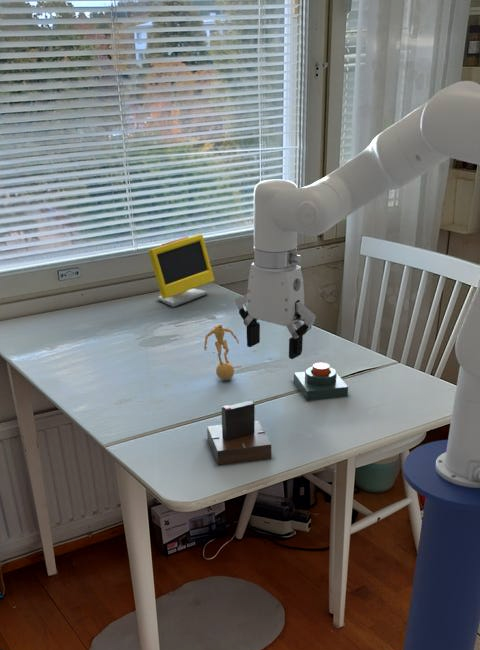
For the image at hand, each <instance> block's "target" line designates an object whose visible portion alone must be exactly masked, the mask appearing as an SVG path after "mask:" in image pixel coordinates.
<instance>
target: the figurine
mask: <svg viewBox="0 0 480 650" xmlns="http://www.w3.org/2000/svg"><path fill="white" fill-rule="evenodd" d="M225 333H230V334H231V335H232V337H233V339H235V340H236V343H237V344H238V345H240V341H239V339H238V338H237V335H236V334H235V333H234V332H233V330H231V329H230V328H226V327H224V326H223V325H222V324H216V325H214V327H213V329H211V330H210V331H209V332H208V333H207V334H205V338H204V346H203V349H204V351H205V352H206V351H207V350H208V346H207V343H208V338H209V337H210V336H212V335H213V334H214V337H215V338H216V339H215V340H216V341H215V342H214V346H215V347H216V351H217V352H218V353H217V357H218V361H219V364H218V365H217V367H216V370H215V371H216V372H215V373H216V376H217V378H218V379H220V380H222V381H229V380H231V379H232V378H233V377H234V375H235V368H234V365H233V364H232V363H231V362H230V361H229V360H228V357H227V355H228V354H229V351H230V349H229V347H228V343H227V340H226V339H224V337H225ZM222 349H224V352H223V356H224V357H223V358H224V360H225V361H223V359H222V357H221V356H222Z"/></svg>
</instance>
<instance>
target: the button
mask: <svg viewBox="0 0 480 650" xmlns="http://www.w3.org/2000/svg"><path fill="white" fill-rule="evenodd" d="M312 366H313V371H312V373H313V374H314V375H318V376H325V375H328V374H329V371H330V367H331V365H330V364H329V363H326V362H315V363H313V364H312Z"/></svg>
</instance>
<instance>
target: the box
mask: <svg viewBox="0 0 480 650" xmlns="http://www.w3.org/2000/svg"><path fill="white" fill-rule="evenodd" d="M312 371H313V365H312V366H310V367H308V368H306V370H305V371H296V372H293V384H294V385H295V386H296V388H297V389H298V390H299V392H300V394H301V395H302V396H303V398H304V399H305V401H306V402H311V401H318V400H328V399H337V398H346V397H348V396H349V394H348V393H349V386H348V384H347V383H346V382H345V381H344V380H343V378H342V377H341V376H340V375H339V374H338V372H337V370H336V368H333V367H331V366H330V371H329V374H328V375H325V376H318V375H314V374H313V373H312Z"/></svg>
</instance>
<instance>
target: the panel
mask: <svg viewBox="0 0 480 650" xmlns="http://www.w3.org/2000/svg"><path fill="white" fill-rule="evenodd" d="M206 435H207V436H206V437H207V442H208V444H209V447H210V449H211V452H212V454H213V457H214V459H215V461H216V464H217V466H227V465H232V464H233V465H234V464H241V463H249V462H258V461H265V460H266V461H267V460H272V443H271V441H270V440H269V437H268V436H267V434H266V431H265V430H264V429H263V427H262V425H261V423H260V421H259V420H255V433H252V434H248V435H245V436H241V437H237V438H233V439H229V440H225V439H224V438H223V437H222V424H215V425H208V426H206Z"/></svg>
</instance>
